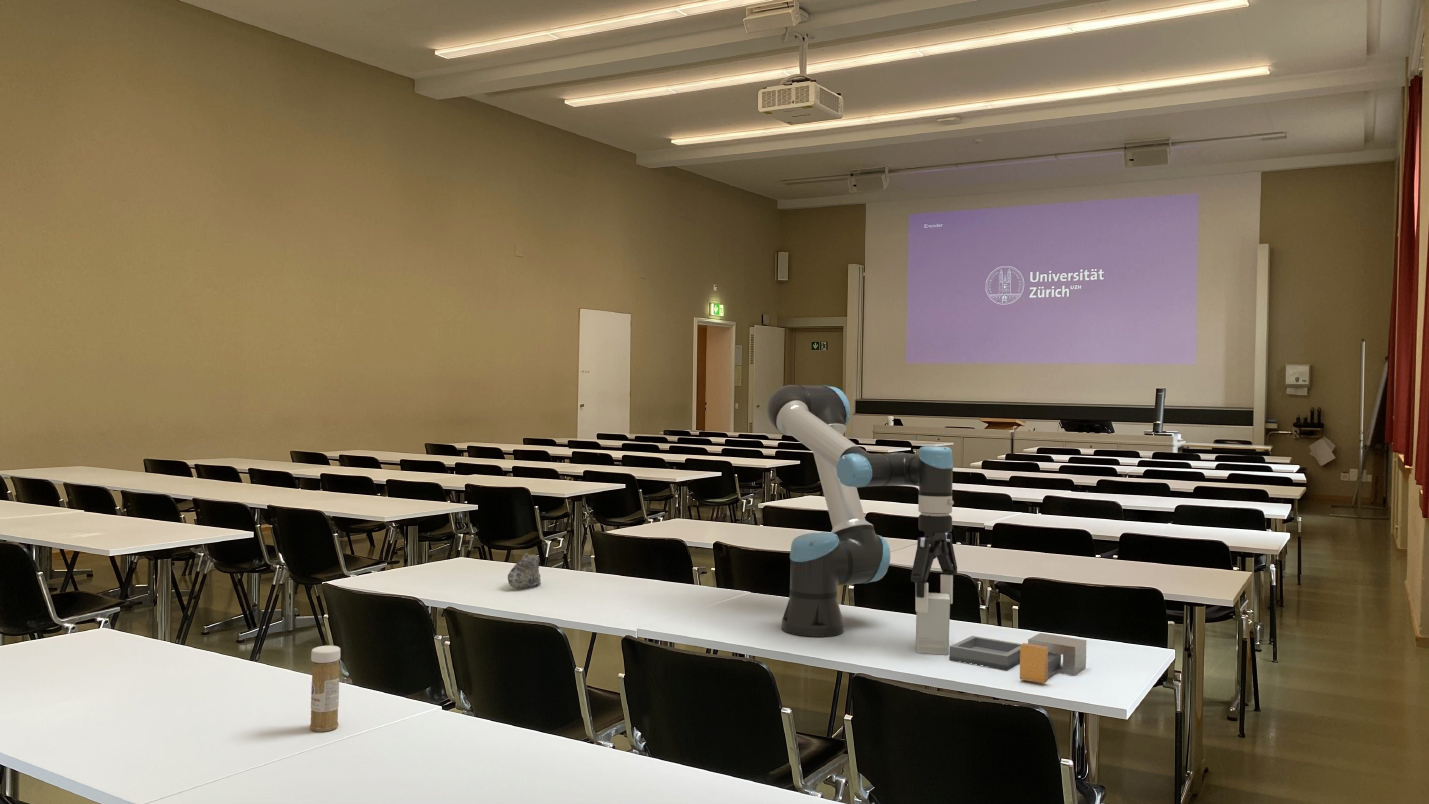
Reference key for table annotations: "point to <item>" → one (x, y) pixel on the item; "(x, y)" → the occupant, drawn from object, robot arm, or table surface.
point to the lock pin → (1037, 663)
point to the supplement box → (934, 625)
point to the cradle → (986, 652)
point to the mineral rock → (525, 572)
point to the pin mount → (1064, 650)
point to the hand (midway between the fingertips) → (934, 607)
